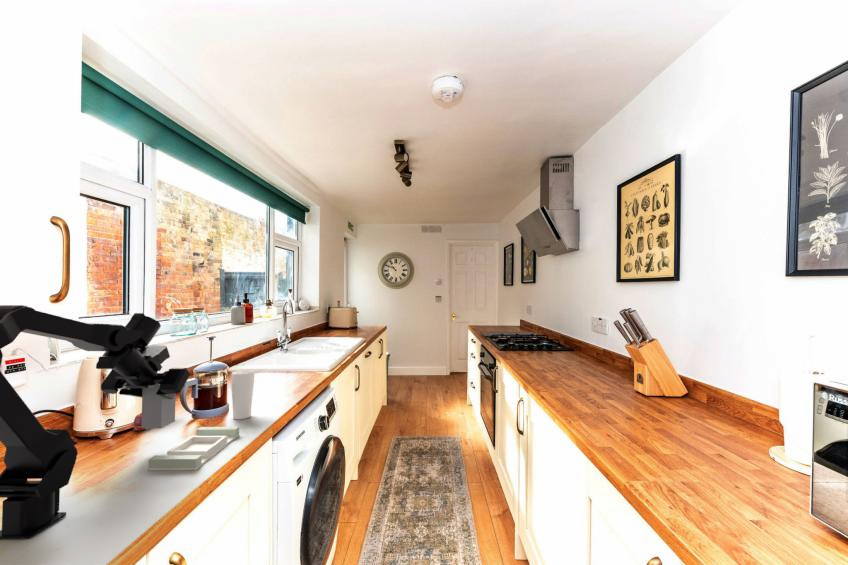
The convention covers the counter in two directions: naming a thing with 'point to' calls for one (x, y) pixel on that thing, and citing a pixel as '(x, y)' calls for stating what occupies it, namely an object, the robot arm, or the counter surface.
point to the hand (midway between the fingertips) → (163, 397)
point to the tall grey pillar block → (156, 408)
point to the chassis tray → (195, 449)
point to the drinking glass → (242, 393)
